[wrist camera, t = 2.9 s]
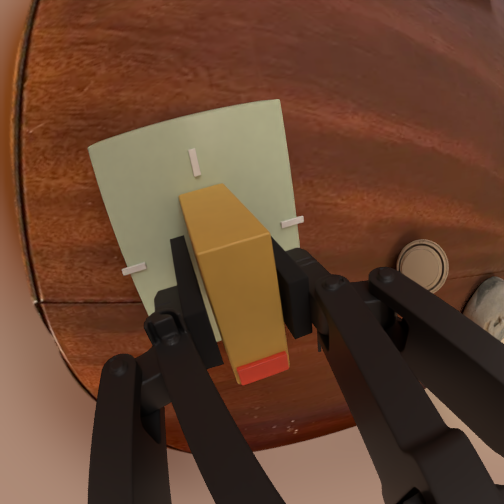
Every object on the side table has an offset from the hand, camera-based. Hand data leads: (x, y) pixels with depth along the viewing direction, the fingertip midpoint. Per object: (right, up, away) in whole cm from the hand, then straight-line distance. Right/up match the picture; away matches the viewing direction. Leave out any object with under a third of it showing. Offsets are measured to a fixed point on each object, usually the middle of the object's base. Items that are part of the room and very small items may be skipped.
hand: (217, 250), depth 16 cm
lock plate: (-1, +2, +3) cm, 4 cm away
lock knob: (0, 0, +1) cm, 1 cm away
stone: (+35, -7, +20) cm, 42 cm away
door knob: (+16, 0, +10) cm, 19 cm away
